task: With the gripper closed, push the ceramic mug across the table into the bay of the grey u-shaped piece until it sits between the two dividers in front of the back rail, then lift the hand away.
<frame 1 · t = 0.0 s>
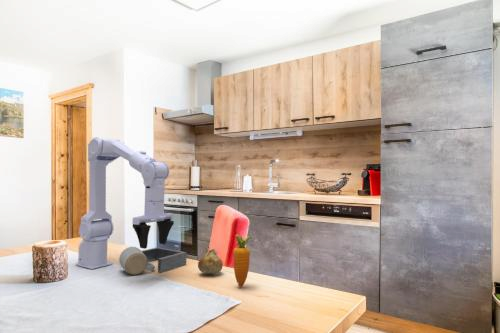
hand: (153, 245, 101), 10 cm above the table, tool pointing down, fingers open, 7 cm apart
onion: (209, 275, 107), on the table
grey u-shaped piece: (158, 265, 117), on the table
carrot: (240, 288, 95), on the table
ceramic mug: (137, 272, 109), on the table
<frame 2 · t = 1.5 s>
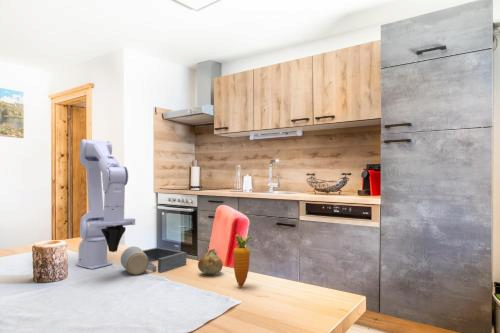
hand: (112, 251, 101), 8 cm above the table, tool pointing down, fingers closed
nothing on the table moved.
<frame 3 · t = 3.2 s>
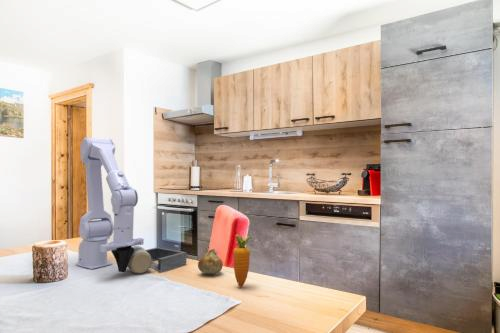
hand: (122, 271, 104), 1 cm above the table, tool pointing down, fingers closed
ceramic mug: (141, 271, 110), on the table, touching gripper
everything else where it was.
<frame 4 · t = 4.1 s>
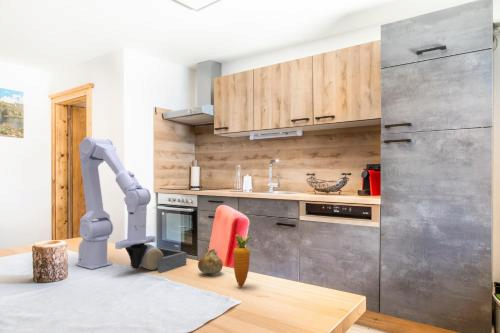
hand: (135, 267, 108), 1 cm above the table, tool pointing down, fingers closed
ceramic mug: (152, 268, 114), on the table, touching gripper
everything else where it was.
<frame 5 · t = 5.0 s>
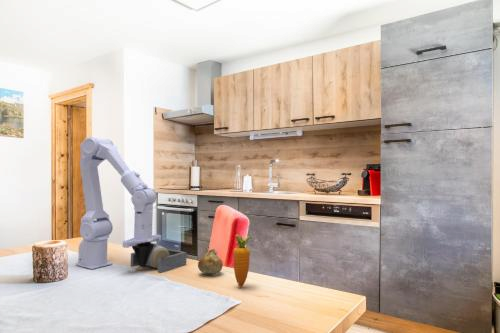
hand: (142, 265, 111), 1 cm above the table, tool pointing down, fingers closed
ceramic mug: (158, 266, 116), on the table, touching gripper
everything else where it was.
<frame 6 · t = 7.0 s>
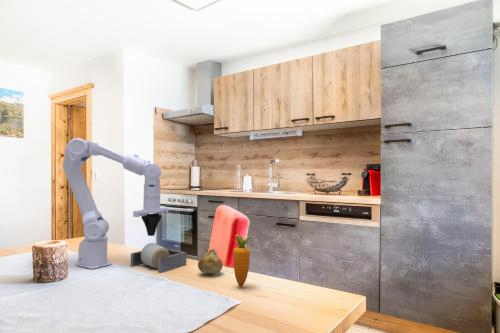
hand: (151, 235, 120), 10 cm above the table, tool pointing down, fingers closed
ceramic mug: (158, 266, 116), on the table
everything else where it was.
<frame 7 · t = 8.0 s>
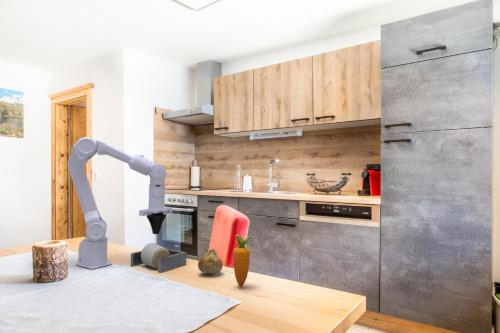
hand: (155, 233, 123), 10 cm above the table, tool pointing down, fingers closed
nothing on the table moved.
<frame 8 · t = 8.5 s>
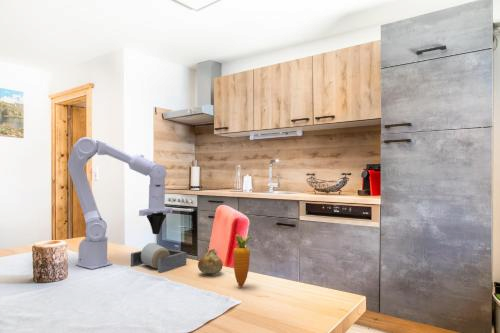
hand: (155, 233, 123), 10 cm above the table, tool pointing down, fingers closed
nothing on the table moved.
at the end: ceramic mug inside the target area (0.6 cm from its centre), on the table; ceramic mug tilted 0°; ceramic mug moved 8.9 cm from its start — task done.
